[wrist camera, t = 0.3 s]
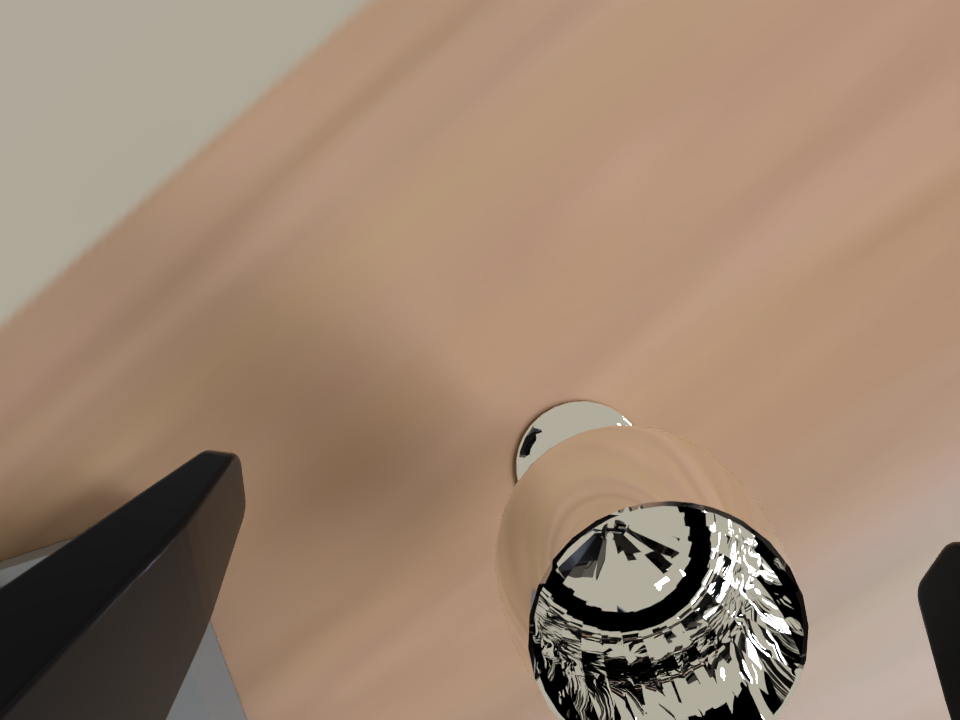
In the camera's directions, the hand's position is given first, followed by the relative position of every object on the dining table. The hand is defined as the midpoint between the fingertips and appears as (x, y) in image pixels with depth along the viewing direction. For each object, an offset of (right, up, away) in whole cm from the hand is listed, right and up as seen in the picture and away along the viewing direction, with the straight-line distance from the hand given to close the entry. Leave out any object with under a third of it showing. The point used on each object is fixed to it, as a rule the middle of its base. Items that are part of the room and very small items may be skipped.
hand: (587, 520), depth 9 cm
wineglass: (+2, -2, +15) cm, 15 cm away
